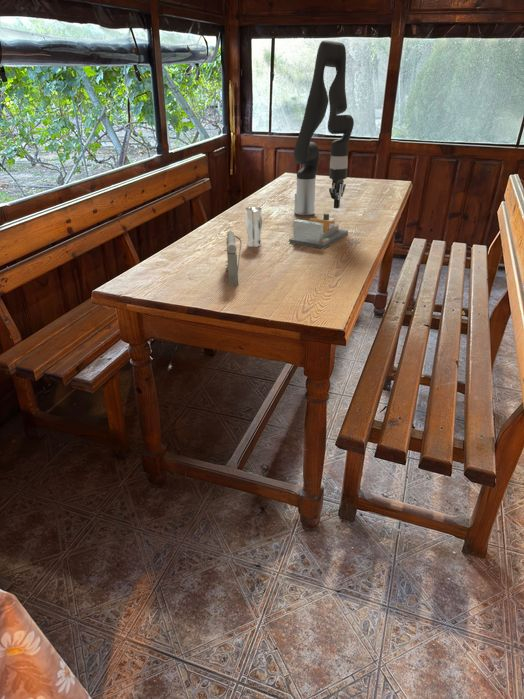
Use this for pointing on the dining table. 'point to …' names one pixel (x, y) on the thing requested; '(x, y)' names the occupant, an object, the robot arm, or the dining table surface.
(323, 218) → the spring plunger
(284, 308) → the dining table surface
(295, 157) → the robot arm
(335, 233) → the tester base
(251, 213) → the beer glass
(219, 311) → the dining table surface
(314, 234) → the brushed metal plate
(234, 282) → the geiger counter
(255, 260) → the dining table surface
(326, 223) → the peak pointer
